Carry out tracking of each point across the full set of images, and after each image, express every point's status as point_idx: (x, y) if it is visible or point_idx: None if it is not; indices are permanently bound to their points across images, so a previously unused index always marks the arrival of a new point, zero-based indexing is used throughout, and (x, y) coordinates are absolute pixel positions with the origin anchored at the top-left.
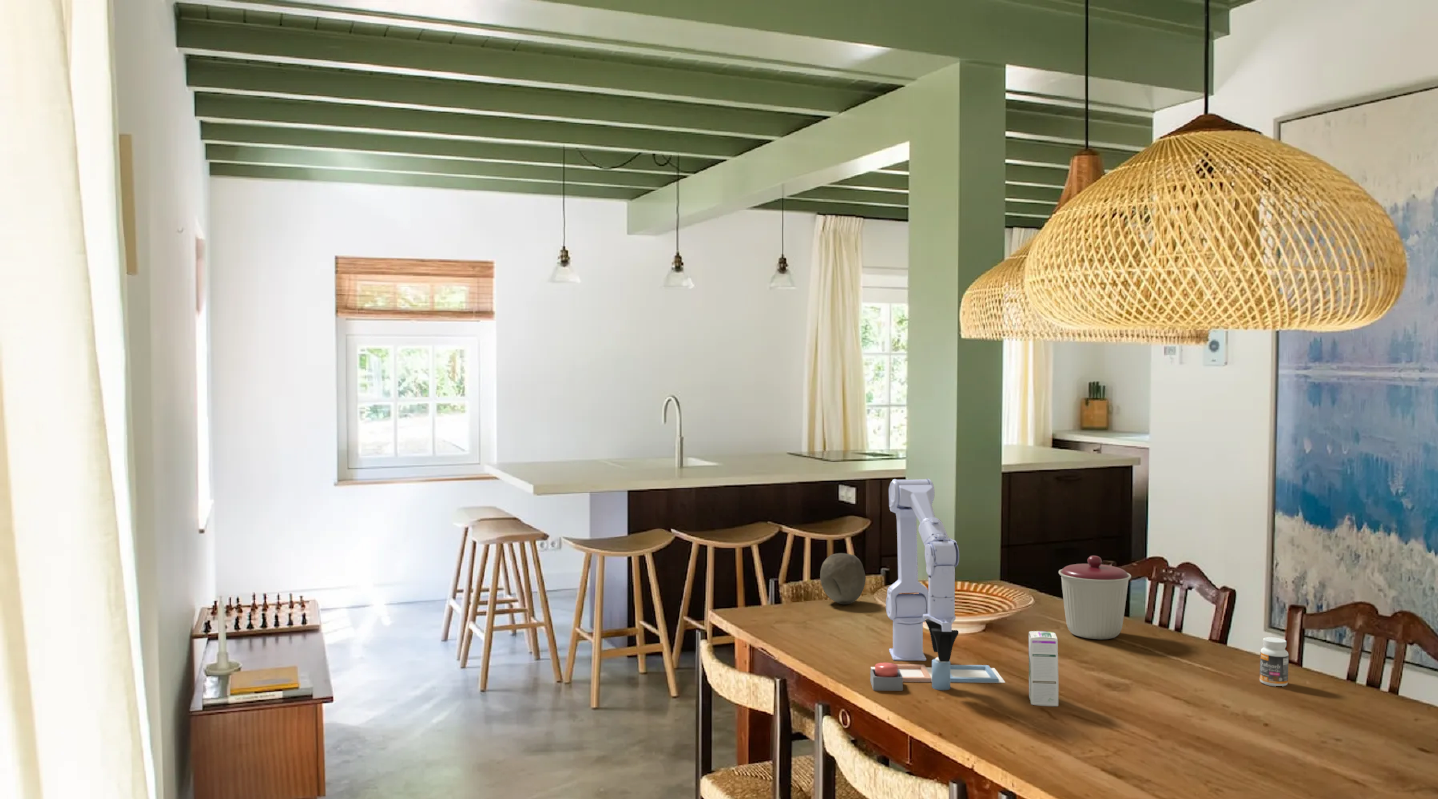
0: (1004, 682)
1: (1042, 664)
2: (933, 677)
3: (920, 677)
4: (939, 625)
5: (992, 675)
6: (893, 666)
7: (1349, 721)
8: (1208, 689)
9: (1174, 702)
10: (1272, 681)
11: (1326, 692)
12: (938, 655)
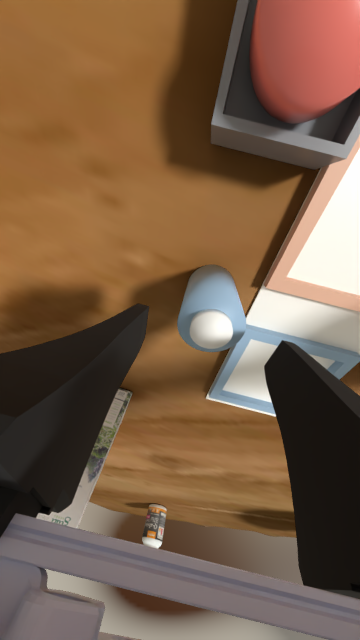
0: (206, 397)
1: None
2: (206, 275)
3: (288, 259)
4: (343, 516)
5: (232, 399)
6: (305, 50)
7: None
8: (148, 487)
9: (114, 463)
10: (150, 508)
11: (137, 507)
12: (125, 310)
